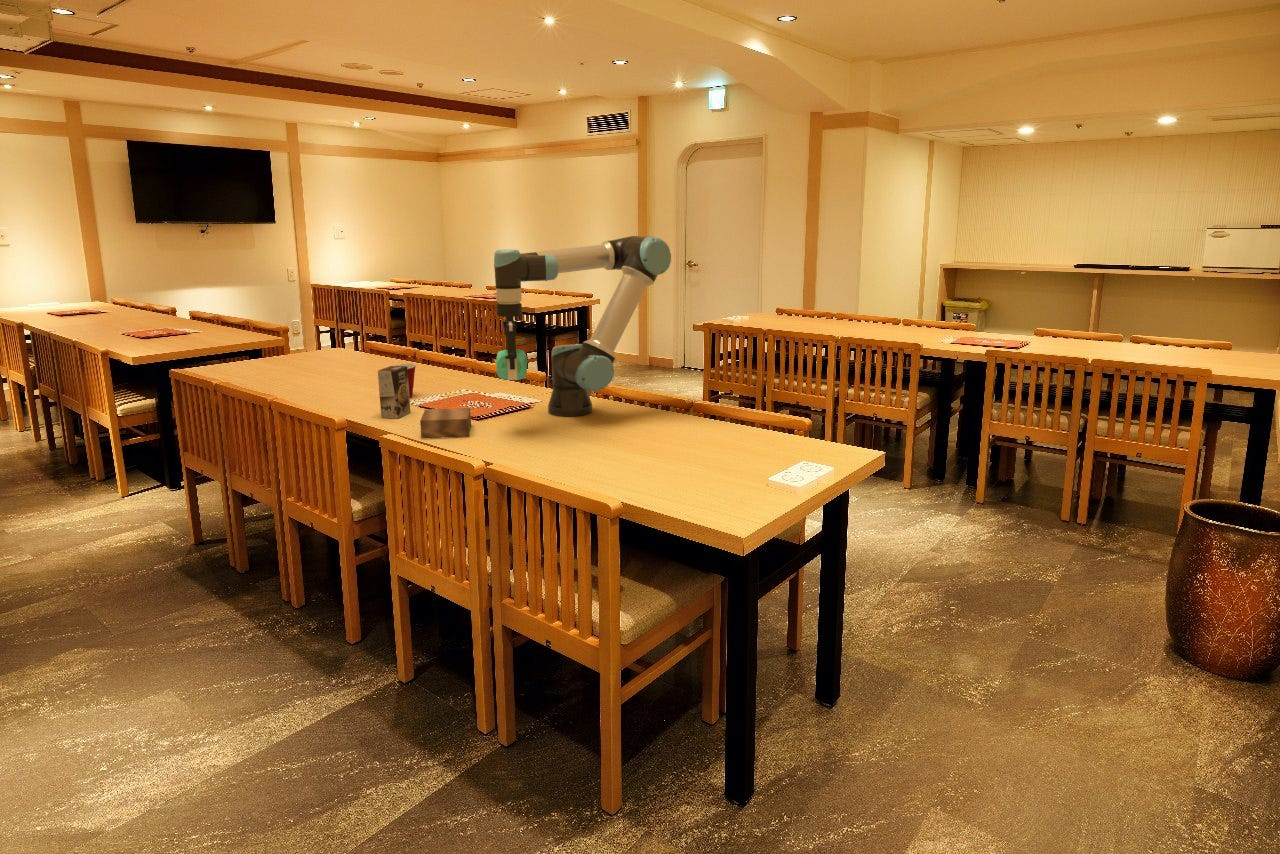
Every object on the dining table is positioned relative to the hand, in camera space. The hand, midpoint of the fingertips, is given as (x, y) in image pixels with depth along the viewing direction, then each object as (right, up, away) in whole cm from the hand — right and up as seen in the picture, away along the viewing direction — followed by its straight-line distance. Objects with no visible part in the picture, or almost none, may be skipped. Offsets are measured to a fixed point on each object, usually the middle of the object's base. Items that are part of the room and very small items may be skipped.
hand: (512, 376), depth 242 cm
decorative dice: (0, -1, 0) cm, 1 cm away
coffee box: (-43, -12, +24) cm, 50 cm away
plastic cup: (-48, -5, +50) cm, 69 cm away
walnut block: (-21, -17, +4) cm, 27 cm away
